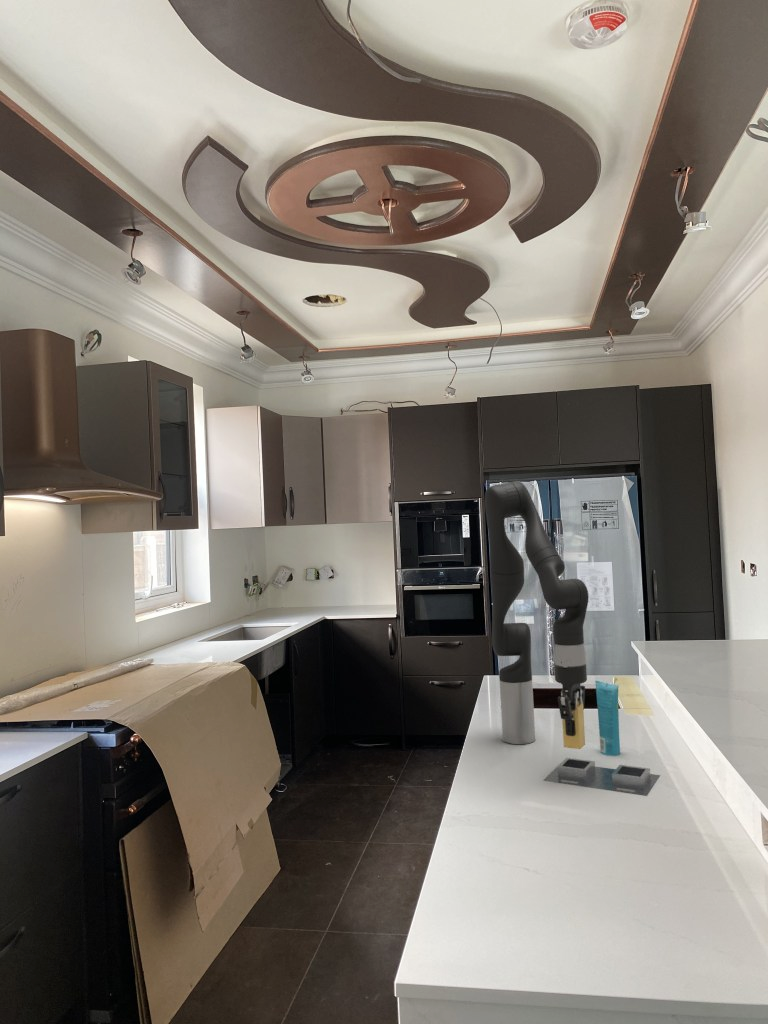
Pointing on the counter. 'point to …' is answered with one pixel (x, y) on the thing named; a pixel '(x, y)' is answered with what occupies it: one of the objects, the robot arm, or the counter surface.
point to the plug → (579, 737)
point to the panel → (604, 777)
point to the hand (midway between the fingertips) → (573, 732)
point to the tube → (608, 718)
